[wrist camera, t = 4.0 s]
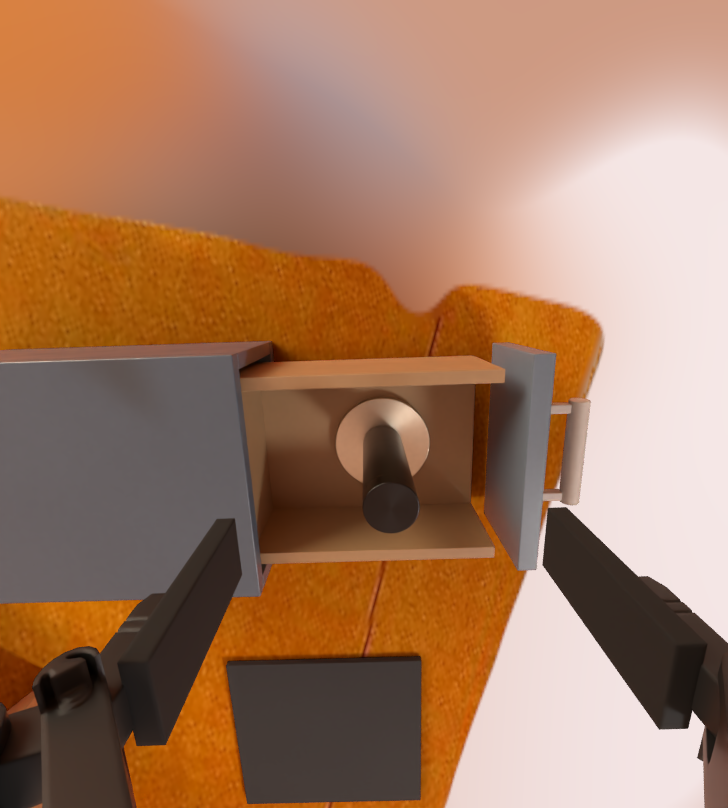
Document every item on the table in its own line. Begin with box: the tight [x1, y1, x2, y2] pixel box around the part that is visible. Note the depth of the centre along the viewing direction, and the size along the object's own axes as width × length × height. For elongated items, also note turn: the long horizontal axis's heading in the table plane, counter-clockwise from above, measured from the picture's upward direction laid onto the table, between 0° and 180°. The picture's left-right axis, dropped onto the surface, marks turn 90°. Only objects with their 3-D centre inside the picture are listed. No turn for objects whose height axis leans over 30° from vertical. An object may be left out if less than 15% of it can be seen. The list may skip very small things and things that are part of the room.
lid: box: [335, 397, 430, 534], centre depth 23 cm, size 7×7×10 cm
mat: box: [226, 656, 421, 804], centre depth 37 cm, size 18×18×1 cm
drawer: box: [239, 342, 591, 570], centre depth 25 cm, size 22×14×7 cm, turn 92°
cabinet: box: [0, 341, 274, 603], centre depth 26 cm, size 20×15×9 cm
